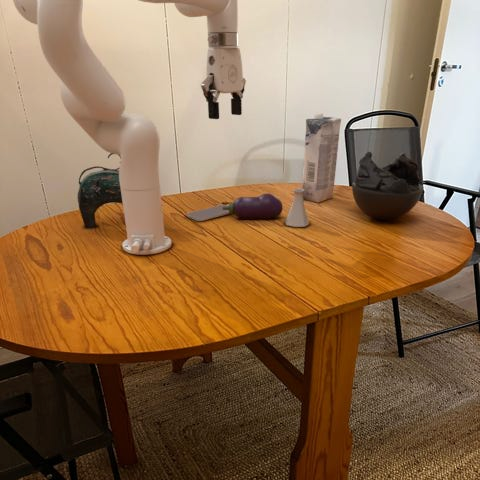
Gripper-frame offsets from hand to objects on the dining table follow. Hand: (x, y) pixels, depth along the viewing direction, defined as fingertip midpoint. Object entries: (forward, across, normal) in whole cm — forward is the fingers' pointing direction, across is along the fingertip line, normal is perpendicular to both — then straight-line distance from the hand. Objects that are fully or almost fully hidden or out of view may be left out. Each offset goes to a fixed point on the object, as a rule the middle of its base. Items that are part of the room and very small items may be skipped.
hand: (225, 116), depth 120 cm
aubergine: (+29, +6, -5) cm, 30 cm away
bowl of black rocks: (+30, +29, -37) cm, 55 cm away
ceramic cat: (+28, -22, +25) cm, 44 cm away
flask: (+29, +9, -18) cm, 36 cm away
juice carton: (+30, +37, -10) cm, 48 cm away
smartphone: (+29, +1, +8) cm, 30 cm away
